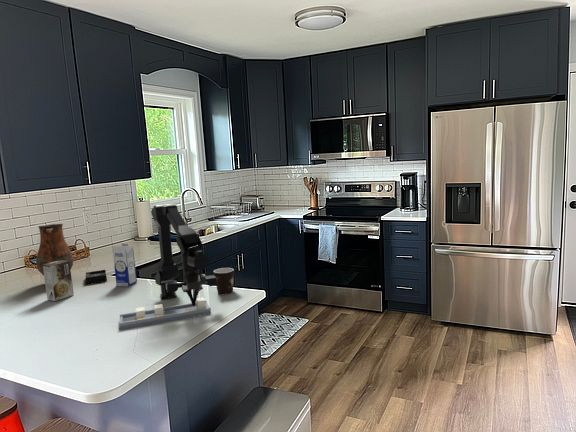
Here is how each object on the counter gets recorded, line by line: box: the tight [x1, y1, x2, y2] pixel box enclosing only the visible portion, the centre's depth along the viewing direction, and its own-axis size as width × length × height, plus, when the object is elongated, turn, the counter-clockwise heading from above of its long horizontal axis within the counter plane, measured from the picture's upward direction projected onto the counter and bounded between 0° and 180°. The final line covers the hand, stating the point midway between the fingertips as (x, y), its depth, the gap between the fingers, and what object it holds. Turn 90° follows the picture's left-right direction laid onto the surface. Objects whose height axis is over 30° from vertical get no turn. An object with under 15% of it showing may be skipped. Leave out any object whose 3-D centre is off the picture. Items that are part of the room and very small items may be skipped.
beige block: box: [135, 306, 146, 319], centre depth 156 cm, size 4×3×3 cm
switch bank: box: [118, 300, 212, 331], centre depth 159 cm, size 10×32×2 cm, turn 110°
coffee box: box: [43, 260, 75, 302], centre depth 191 cm, size 9×6×16 cm
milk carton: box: [111, 243, 138, 287], centre depth 206 cm, size 7×7×20 cm
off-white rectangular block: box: [153, 303, 164, 316], centre depth 158 cm, size 4×3×3 cm
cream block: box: [196, 296, 206, 309], centre depth 164 cm, size 4×3×3 cm
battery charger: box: [85, 269, 108, 286], centre depth 218 cm, size 13×10×4 cm
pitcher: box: [35, 223, 74, 276], centre depth 214 cm, size 17×21×30 cm
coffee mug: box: [213, 267, 235, 295], centre depth 183 cm, size 12×9×10 cm
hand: (193, 305), depth 163 cm, fingers closed
